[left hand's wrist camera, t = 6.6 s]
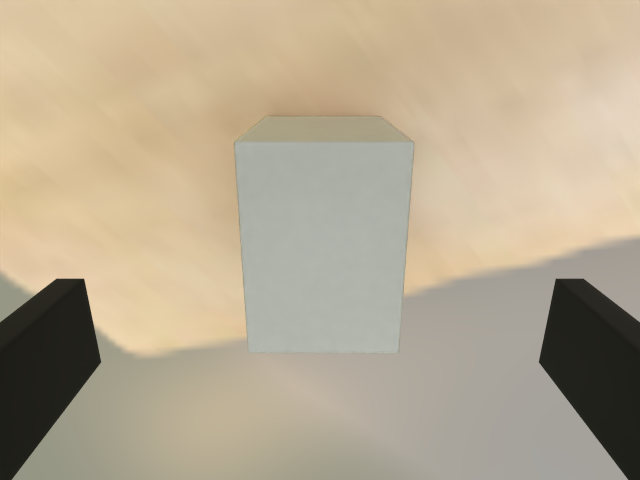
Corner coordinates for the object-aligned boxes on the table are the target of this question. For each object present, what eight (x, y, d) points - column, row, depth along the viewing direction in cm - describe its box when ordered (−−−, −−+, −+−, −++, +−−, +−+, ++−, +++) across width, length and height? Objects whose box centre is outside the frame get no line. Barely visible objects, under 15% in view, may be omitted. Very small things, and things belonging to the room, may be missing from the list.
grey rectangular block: (271, 263, 26) (247, 353, 18) (265, 115, 23) (233, 141, 15) (374, 263, 26) (399, 354, 18) (381, 115, 23) (415, 141, 15)
